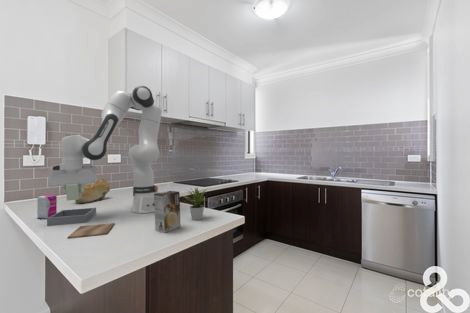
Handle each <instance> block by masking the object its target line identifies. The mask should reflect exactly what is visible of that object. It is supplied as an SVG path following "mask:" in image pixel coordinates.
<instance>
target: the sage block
mask: <svg viewBox="0 0 470 313" xmlns="http://www.w3.org/2000/svg"><path fill="white" fill-rule="evenodd" d="M79 189H81V184H66V194H65V195H66V201H75V200H79V199H81V198H82V193H79Z"/></svg>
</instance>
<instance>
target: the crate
mask: <svg viewBox="0 0 470 313" xmlns="http://www.w3.org/2000/svg"><path fill="white" fill-rule="evenodd" d="M96 215H97V207H89V208H87V207H86V208H75V209H73V208H72V209H61V210H60V211H57V213H56V214H54V215H52V216H50V217H49V218H47V219H46V226H47V227H49V226H59V225H69V224H70V225H71V224H73V225H74V224H81V223H82V224H84V223H87V222H89V221H90V220H91V219H92V218H94V216H96Z"/></svg>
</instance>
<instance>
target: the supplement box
mask: <svg viewBox="0 0 470 313" xmlns="http://www.w3.org/2000/svg"><path fill="white" fill-rule="evenodd" d="M57 198H58V197H57V195H51V194H46V195H42V196H40V195H39V196H37V210H36V211H37V219H38V220H47V218H49V217H50V216H52V215H54V214H56V213H58V211H57V206H58V205H57Z"/></svg>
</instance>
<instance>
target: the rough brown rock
mask: <svg viewBox="0 0 470 313" xmlns="http://www.w3.org/2000/svg"><path fill="white" fill-rule="evenodd" d="M82 187H83V186H81V188H82ZM110 190H111V189H110V184H109V182H108V181H107V180H106V179H105V178H100V179H97V181H96V182H95V183H92V184H86V186H85V188H84V192H83V193H82V198H81V199H79V200H74V201H75V203H76V204H84V203H91V202H93V201H96V200H99V201H100V200H102V201H103V200H104V198H105V197H106V195H107V194H108V193H109V192H110Z"/></svg>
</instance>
